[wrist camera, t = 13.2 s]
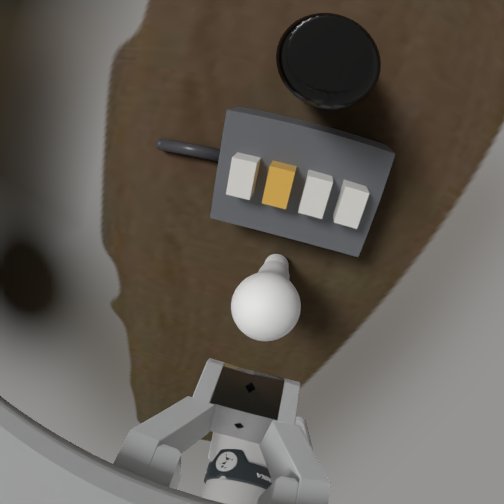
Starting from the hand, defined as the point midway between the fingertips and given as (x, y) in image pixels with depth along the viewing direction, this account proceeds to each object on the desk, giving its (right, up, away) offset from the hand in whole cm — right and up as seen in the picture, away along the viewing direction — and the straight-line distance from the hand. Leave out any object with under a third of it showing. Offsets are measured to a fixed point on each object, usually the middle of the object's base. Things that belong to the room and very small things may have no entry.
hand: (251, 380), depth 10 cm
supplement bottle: (+7, +20, +15) cm, 26 cm away
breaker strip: (+1, +13, +20) cm, 24 cm away
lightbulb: (+3, +3, +25) cm, 26 cm away
